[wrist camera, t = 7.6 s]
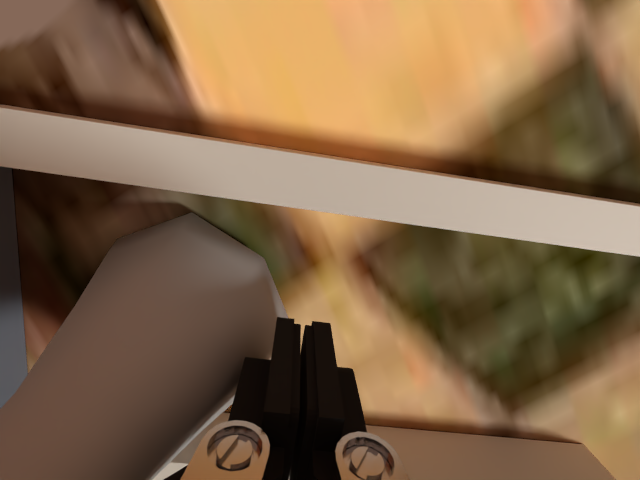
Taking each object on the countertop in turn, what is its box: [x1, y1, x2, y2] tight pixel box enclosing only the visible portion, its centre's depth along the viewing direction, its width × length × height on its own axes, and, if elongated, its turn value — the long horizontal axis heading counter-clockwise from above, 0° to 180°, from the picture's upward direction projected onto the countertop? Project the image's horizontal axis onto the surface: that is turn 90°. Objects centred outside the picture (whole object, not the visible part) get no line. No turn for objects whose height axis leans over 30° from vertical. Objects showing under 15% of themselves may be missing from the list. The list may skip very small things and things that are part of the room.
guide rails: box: [0, 105, 640, 480], centre depth 13 cm, size 24×12×2 cm, turn 81°
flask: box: [0, 212, 288, 480], centre depth 8 cm, size 7×7×10 cm
